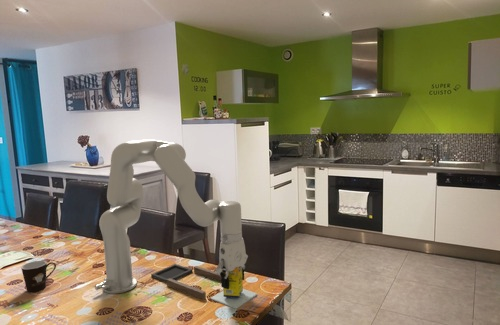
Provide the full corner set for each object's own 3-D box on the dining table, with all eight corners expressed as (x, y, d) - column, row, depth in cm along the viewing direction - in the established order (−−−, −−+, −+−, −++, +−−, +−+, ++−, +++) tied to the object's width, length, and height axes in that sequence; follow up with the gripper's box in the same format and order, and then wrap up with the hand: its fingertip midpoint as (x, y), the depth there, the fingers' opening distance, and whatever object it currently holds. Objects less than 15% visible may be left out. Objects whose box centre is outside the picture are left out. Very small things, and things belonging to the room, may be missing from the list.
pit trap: (168, 283, 142) (168, 280, 142) (151, 277, 149) (151, 274, 149) (192, 272, 152) (192, 269, 152) (175, 266, 159) (175, 263, 159)
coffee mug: (22, 296, 136) (19, 271, 135) (24, 287, 143) (22, 263, 142) (57, 288, 141) (54, 264, 140) (57, 280, 149) (55, 257, 147)
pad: (236, 308, 121) (236, 307, 121) (210, 299, 128) (210, 297, 128) (257, 294, 130) (257, 293, 130) (232, 286, 138) (232, 285, 138)
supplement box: (239, 298, 126) (238, 268, 125) (223, 297, 127) (222, 267, 126) (243, 290, 132) (242, 262, 130) (227, 289, 133) (226, 261, 132)
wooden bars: (202, 299, 128) (202, 293, 128) (167, 285, 140) (166, 279, 140) (231, 283, 141) (231, 277, 140) (196, 271, 153) (196, 265, 153)
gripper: (222, 245, 118) (224, 296, 120) (254, 231, 131) (255, 277, 133) (206, 241, 122) (208, 290, 124) (238, 228, 136) (240, 272, 138)
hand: (233, 283), depth 129 cm, fingers closed on supplement box, 7 cm apart
